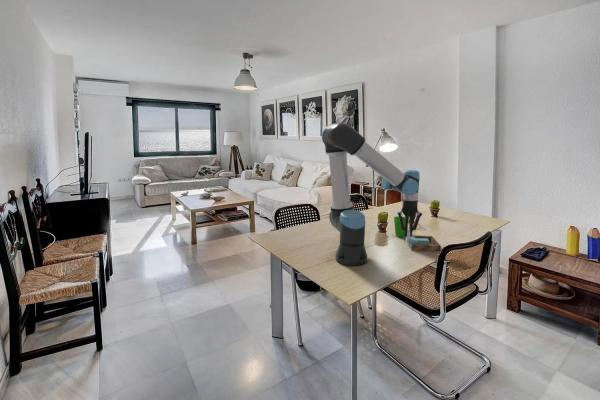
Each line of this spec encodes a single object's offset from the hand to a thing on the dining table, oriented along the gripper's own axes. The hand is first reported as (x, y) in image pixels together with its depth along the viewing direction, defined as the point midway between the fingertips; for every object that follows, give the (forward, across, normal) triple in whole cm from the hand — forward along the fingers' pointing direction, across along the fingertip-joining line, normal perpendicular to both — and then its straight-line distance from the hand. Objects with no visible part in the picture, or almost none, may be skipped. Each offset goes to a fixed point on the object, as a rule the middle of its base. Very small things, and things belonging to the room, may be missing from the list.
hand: (407, 242), depth 177 cm
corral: (+2, +7, 0) cm, 7 cm away
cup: (+2, -1, +15) cm, 15 cm away
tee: (+2, +6, 0) cm, 6 cm away
